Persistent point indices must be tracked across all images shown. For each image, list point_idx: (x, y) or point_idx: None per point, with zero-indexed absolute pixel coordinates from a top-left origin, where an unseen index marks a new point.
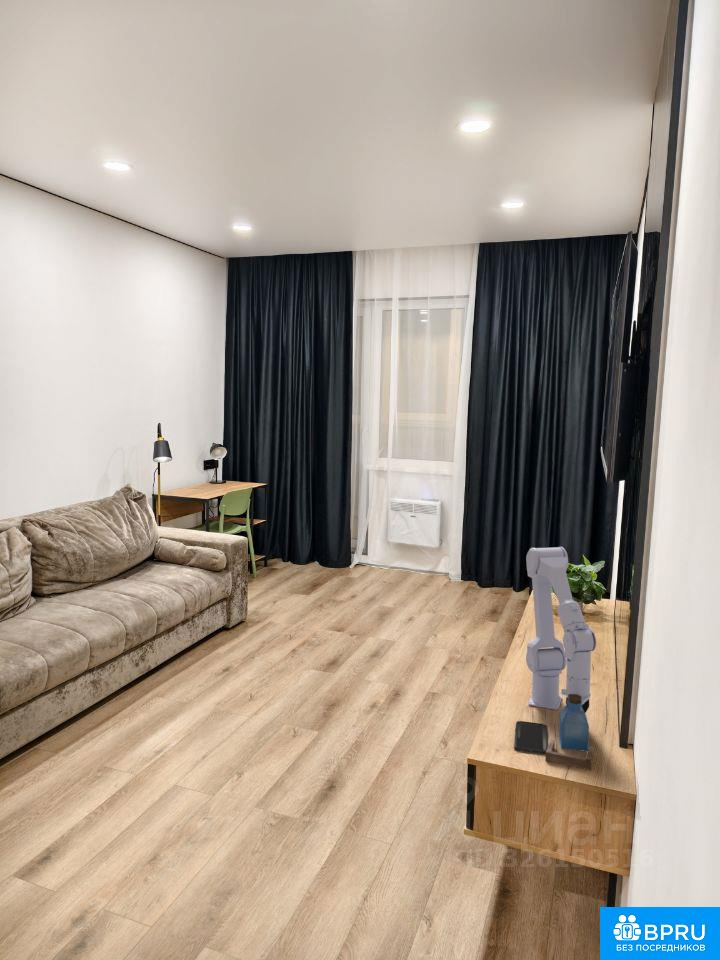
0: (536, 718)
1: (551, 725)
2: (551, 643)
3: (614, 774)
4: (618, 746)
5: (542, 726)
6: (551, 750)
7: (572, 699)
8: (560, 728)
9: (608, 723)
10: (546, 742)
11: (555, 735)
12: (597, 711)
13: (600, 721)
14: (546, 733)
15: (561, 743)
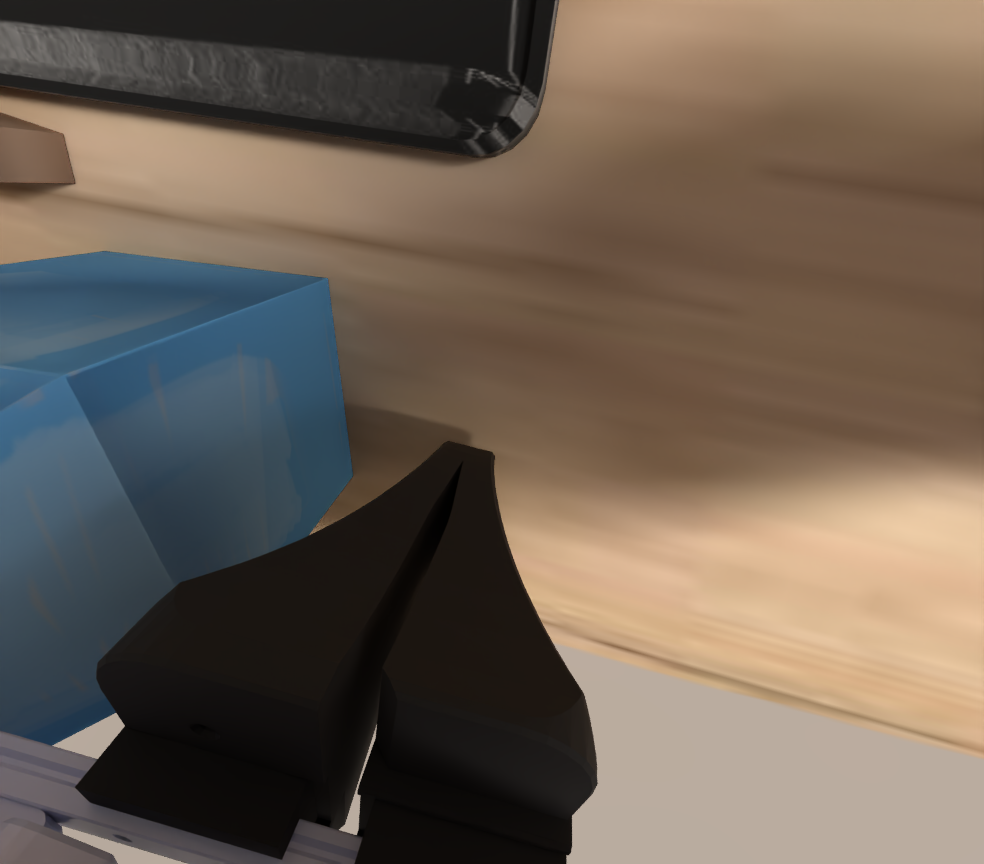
0: (837, 4)
1: (580, 235)
2: None
3: None
4: None
5: (468, 74)
6: None
7: None
8: (88, 295)
9: (623, 658)
10: (51, 79)
11: (339, 240)
12: (836, 669)
13: (657, 633)
14: (260, 111)
15: (55, 259)
